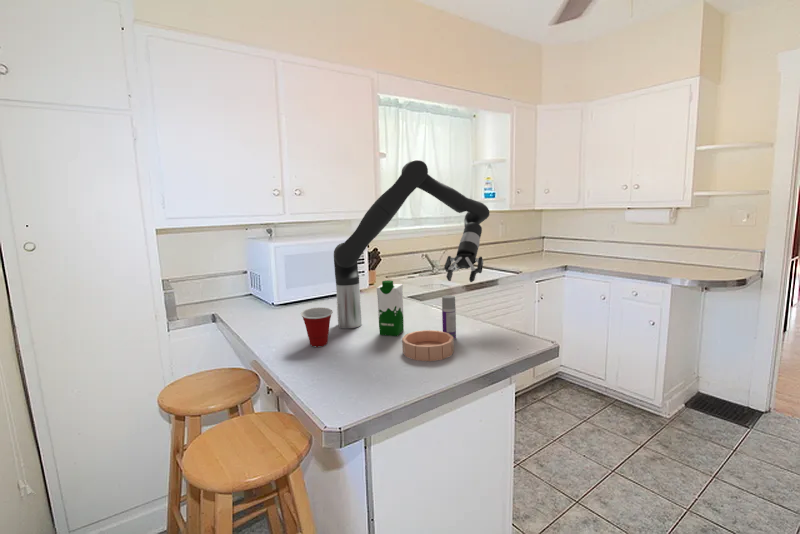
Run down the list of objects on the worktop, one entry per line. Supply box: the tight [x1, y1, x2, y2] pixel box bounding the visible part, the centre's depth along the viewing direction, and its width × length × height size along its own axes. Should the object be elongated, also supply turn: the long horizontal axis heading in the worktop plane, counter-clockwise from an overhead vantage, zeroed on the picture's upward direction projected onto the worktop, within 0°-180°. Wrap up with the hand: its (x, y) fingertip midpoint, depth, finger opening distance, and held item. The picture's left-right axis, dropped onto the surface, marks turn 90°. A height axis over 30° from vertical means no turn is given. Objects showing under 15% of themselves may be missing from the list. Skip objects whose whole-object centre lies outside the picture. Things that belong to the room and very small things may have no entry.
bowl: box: [401, 329, 455, 362], centre depth 130 cm, size 16×16×4 cm
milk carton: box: [376, 279, 405, 337], centre depth 149 cm, size 9×9×20 cm
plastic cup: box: [300, 307, 333, 348], centre depth 140 cm, size 11×11×12 cm
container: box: [441, 294, 457, 340], centre depth 141 cm, size 5×5×15 cm
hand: (459, 280), depth 149 cm, fingers open, 8 cm apart
